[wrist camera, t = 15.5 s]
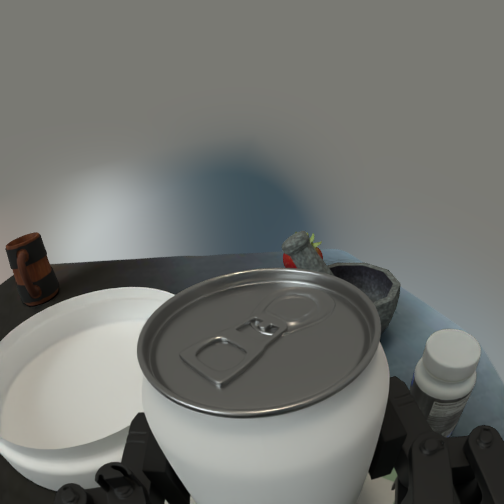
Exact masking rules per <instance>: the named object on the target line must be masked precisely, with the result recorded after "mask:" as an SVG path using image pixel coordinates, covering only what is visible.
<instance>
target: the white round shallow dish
mask: <svg viewBox="0 0 504 504" xmlns="http://www.w3.org/2000/svg"><path fill="white" fill-rule="evenodd" d="M173 296H175V295H173V294H171V293H168V292H165V291H162V290H157V289H152V288H141V287H124V288H113V289H106V290H100V291H95V292H91V293H87V294H83V295H80V296H77V297H73V298H71V299H68V300H65V301H62V302H60V303H58V304H55V305H53V306H51V307H49V308H47V309H45V310H43V311H41V312H39V313H37V314H35V315H34V316H32V317H30V318H29V319H27V320H26V321H24V322H23V323H21V324H20V325H19V326H17V327H16V328H15V329H14V330H12V331H11V332H10V333H9V334H8V335H7V336H5V337H4V338H3V339H2V340H1V341H0V453H1V454H2V455H3V457H4V458H5V459H6V460H7V461H8V462H9V463H10V464H11V465H12V466H13V467H14V468H15V469H16V470H17V471H18V472H19V473H21V474H22V475H23V476H24V477H26V478H27V479H29V480H31V481H32V482H34V483H36V484H38V485H40V486H43V487H45V488H47V489H51V490H54V491H58V489H59V488H61V487H62V486H63V485H65V484H68V483H75V484H78V485H80V486H81V487H82V488H84V489H90V488H96V487H100V486H99V485H98V483H97V482H96V481H95V474H96V473H97V471H98V469H99V468H100V467H102V466H103V465H104V464H107V463H110V462H120V463H121V460H122V455H123V451H124V447H125V443H126V439H127V435H128V434H129V433H128V432H129V428H130V424H131V421H132V420H133V419H134V417H135V416H136V415H137V413H138V412H144V409H143V404H142V382H143V375H144V374H143V372H142V370H141V368H140V365H139V362H138V358H137V343H138V338H139V335H140V332H141V330H142V328H143V326H144V324H145V323H146V321H147V320H148V318H149V317H150V316H151V315H152V314H153V313H154V311H155V310H156V309H158V308H159V307H160V306H161V305H162V304H163V303H165V302H166V301H167V300H169V299H170V298H172V297H173Z"/></svg>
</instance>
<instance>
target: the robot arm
mask: <svg viewBox="0 0 504 504" xmlns="http://www.w3.org/2000/svg"><path fill="white" fill-rule="evenodd" d="M128 433H129V434H128V435H127V439H126V443H125V447H124V451H123V455H122V460H121V463H120V462H110V463H107V464H104V465H103V466H102V467H100V468H99V469H98V471H97V473H96V474H95V481H96V482H97V483H98V485H99V486H100V487H96V488H90V489H84V488H82V487H81V486H80V485H78V484H75V483H68V484H65V485H63V486H62V487H61V488H59V489H58V491H57V493H56V496H55V500H54V504H165V500H166V501H167V502H168V503H169V504H190V493H189V492H188V490H187V489H186V488H185V486H184V485H183V483H182V482H181V480H180V479H179V477H178V475H177V474H176V472H175V471H174V469H173V468H172V466H171V464H170V463H169V461H168V460H167V458H166V456H165V455H164V453H163V451H162V449H161V448H160V446H159V444H158V442H157V440H156V439H155V437H154V435H153V433H152V431H151V429H150V427H149V424H148V422H147V419H146V416H145V413H144V412H138V413H137V415H136V416H135V417H134V419H133V420H132V421H131V424H130V428H129V432H128ZM393 468H394V469H395V471H396V474H397V477H396V479H395V481H394V483H393V485H392V488H391V490H394V489H395V504H504V441H503V440H502V438H501V436H500V434H499V433H498V431H497V430H496V429H495V428H493V427H491V426H486V425H482V426H478V427H476V428H475V429H473V430H472V432H471V433H470V435H468V436H461V437H443V436H442V435H441V434H439V433H436V432H434V431H433V430H432V428H431V427H430V425H429V424H428V422H427V420H426V418H425V417H424V415H423V413H422V411H421V410H420V408H419V406H418V404H417V403H416V402H415V399H414V398H413V396H412V394H410V391H409V389H408V388H407V386H406V384H405V383H404V382H403V381H401V380H400V379H399V378H397V377H396V376H394V377H390V380H389V393H388V399H387V405H386V410H385V414H384V418H383V422H382V426H381V430H380V434H379V438H378V441H377V445H376V448H375V452H374V455H373V458H372V461H371V465H370V468H369V471H368V472H369V475H370V478H371V480H373V479H377V478H380V477H383V476H386V475H389V474H391V472H392V470H393Z"/></svg>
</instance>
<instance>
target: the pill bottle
mask: <svg viewBox="0 0 504 504" xmlns="http://www.w3.org/2000/svg"><path fill="white" fill-rule="evenodd" d="M480 356H481V348H480V345H479V343H478V341H477V340H476V339H475V338H474V337H473V336H471V335H470V334H468V333H466V332H464V331H461V330H456V329H443V330H439V331H437V332H435V333H433V334H432V335H431V336H430V337H429V338H428V340H427V343H426V346H425V350H424V353H423V357H422V358H421V359H420V360H419V362H418V363H417V365H416V368H415V371H414V375H413V379H412V383H411V386H410V390H409V391H410V394H412V396H413V398H414V399H415V402H416V403H417V404H418V406H419V408H420V410H421V411H422V413H423V415H424V417H425V418H426V420H427V422H428V424H429V425H430V427H431V428H432V430H433V431H434V432H436V433H439V434H441V435H442V436H443V437H449V436H450V435H451V433H452V432H453V430H454V428H455V426H456V424H457V422H458V420H459V418H460V416H461V414H462V412H463V409H464V407H465V405H466V403H467V401H468V399H469V396H470V394H471V392H472V390H473V387H474V385H475V382H476V367H477V365H478V362H479V359H480Z"/></svg>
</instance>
